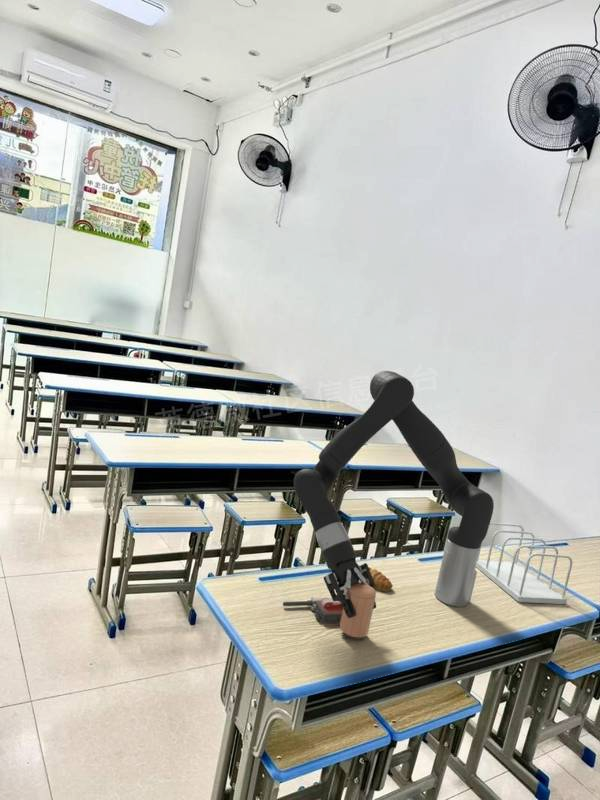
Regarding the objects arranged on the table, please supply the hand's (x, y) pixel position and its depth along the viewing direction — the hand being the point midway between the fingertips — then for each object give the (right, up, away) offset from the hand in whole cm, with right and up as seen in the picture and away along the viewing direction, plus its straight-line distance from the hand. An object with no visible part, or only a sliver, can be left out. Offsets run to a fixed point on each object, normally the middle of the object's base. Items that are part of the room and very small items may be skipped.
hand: (363, 612), depth 126 cm
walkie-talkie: (-9, -4, +9) cm, 13 cm away
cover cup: (-2, -5, +2) cm, 5 cm away
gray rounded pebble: (-2, -6, +2) cm, 7 cm away
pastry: (+7, -4, +31) cm, 32 cm away
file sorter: (+55, -10, +49) cm, 74 cm away
